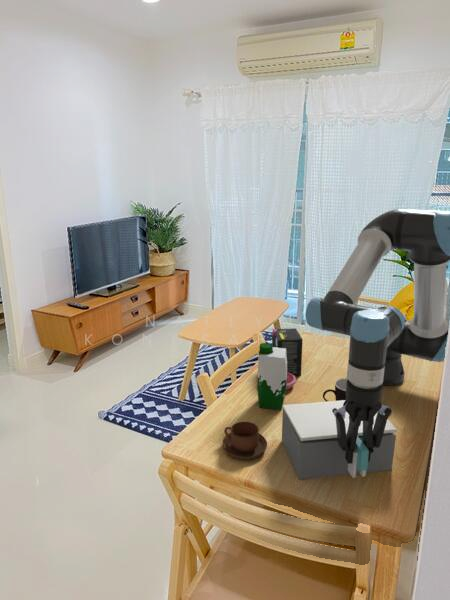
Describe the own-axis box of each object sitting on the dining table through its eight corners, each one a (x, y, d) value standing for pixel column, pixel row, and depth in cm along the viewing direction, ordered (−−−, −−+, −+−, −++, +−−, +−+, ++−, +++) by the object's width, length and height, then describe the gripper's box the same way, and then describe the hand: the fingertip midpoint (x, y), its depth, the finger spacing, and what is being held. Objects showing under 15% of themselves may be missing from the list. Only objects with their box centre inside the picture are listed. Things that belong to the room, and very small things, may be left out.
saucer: (258, 377, 159) (258, 369, 158) (293, 377, 159) (293, 369, 158) (260, 394, 147) (260, 385, 146) (297, 394, 147) (297, 385, 146)
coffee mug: (362, 409, 137) (365, 380, 134) (361, 424, 129) (363, 393, 127) (324, 403, 141) (326, 375, 138) (321, 417, 133) (322, 387, 130)
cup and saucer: (218, 460, 114) (218, 440, 112) (226, 434, 125) (226, 415, 124) (265, 465, 112) (265, 444, 110) (268, 438, 123) (269, 418, 122)
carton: (363, 433, 125) (366, 402, 122) (391, 470, 110) (396, 435, 107) (281, 440, 122) (282, 408, 119) (298, 479, 107) (300, 444, 104)
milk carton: (259, 395, 146) (260, 339, 140) (286, 398, 144) (288, 341, 139) (255, 409, 138) (256, 350, 132) (284, 412, 136) (286, 352, 130)
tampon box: (270, 364, 169) (271, 328, 165) (294, 363, 170) (295, 327, 166) (276, 377, 159) (277, 339, 155) (301, 376, 160) (303, 338, 155)
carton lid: (365, 412, 123) (366, 396, 122) (414, 465, 99) (416, 445, 98) (282, 419, 120) (282, 402, 119) (311, 475, 96) (312, 455, 95)
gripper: (339, 392, 91) (331, 487, 98) (405, 387, 93) (394, 480, 99) (326, 376, 98) (320, 465, 105) (388, 371, 100) (378, 459, 107)
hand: (356, 472), depth 102 cm, fingers closed on carton lid, 2 cm apart
